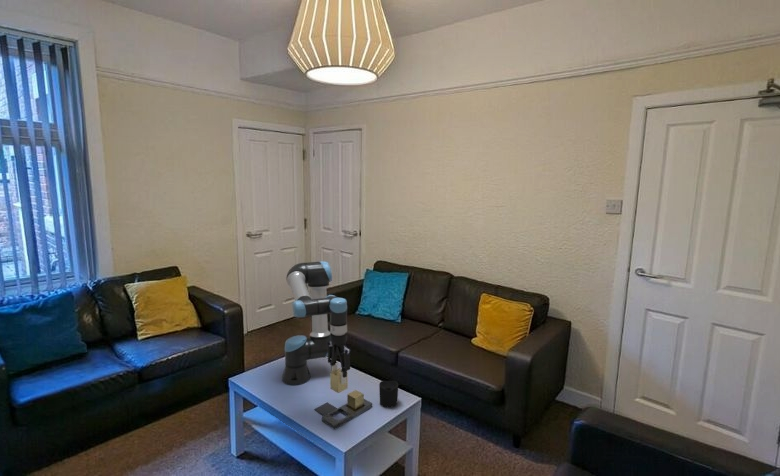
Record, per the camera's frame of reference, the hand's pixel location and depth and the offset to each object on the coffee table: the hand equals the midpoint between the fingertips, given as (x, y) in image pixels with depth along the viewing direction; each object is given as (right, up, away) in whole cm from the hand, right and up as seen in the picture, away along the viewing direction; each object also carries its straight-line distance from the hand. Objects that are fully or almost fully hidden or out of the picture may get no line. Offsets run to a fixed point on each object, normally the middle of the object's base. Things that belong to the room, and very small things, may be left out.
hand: (338, 380), depth 180 cm
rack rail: (+3, -18, +6) cm, 19 cm away
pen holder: (+23, -17, +16) cm, 32 cm away
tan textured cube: (0, -4, +1) cm, 4 cm away
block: (+7, -17, +10) cm, 21 cm away
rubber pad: (-7, -17, +9) cm, 21 cm away
